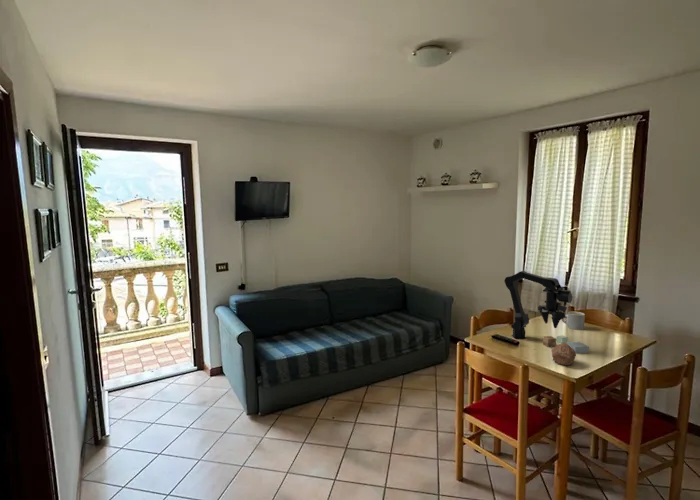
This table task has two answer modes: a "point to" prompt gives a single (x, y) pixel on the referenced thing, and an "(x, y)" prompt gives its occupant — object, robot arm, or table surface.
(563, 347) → the decorative rock
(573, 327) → the coffee mug
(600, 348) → the table surface
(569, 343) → the base block
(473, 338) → the table surface
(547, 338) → the walnut cube
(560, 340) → the sage block
